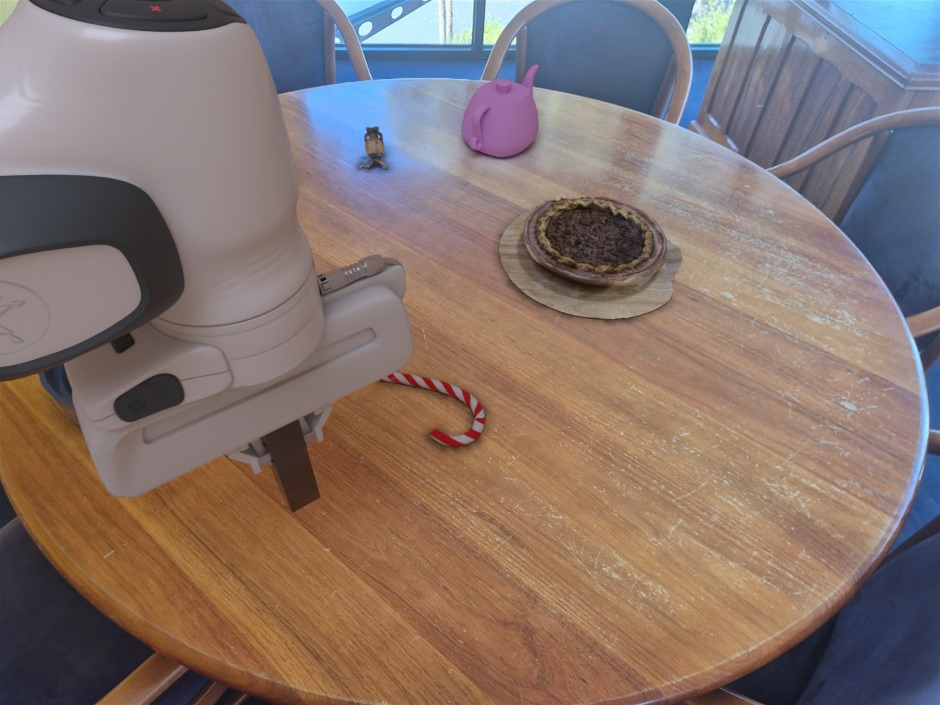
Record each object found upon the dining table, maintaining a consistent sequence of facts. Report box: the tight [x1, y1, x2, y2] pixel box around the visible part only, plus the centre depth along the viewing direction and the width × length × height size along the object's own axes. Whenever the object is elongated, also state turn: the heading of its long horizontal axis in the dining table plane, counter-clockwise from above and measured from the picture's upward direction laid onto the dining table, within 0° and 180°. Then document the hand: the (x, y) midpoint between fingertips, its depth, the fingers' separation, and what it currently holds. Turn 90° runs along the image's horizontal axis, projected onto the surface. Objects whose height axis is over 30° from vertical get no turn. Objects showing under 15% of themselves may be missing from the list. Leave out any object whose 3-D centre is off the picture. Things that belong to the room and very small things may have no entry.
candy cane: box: [379, 371, 486, 447], centre depth 73 cm, size 8×1×15 cm
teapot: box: [460, 64, 540, 158], centre depth 113 cm, size 20×13×12 cm, turn 144°
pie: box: [498, 195, 683, 320], centre depth 93 cm, size 28×27×5 cm
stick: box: [261, 419, 321, 514], centre depth 43 cm, size 2×2×14 cm
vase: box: [358, 126, 390, 170], centre depth 109 cm, size 5×5×6 cm
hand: (285, 450), depth 44 cm, fingers closed on stick, 2 cm apart
